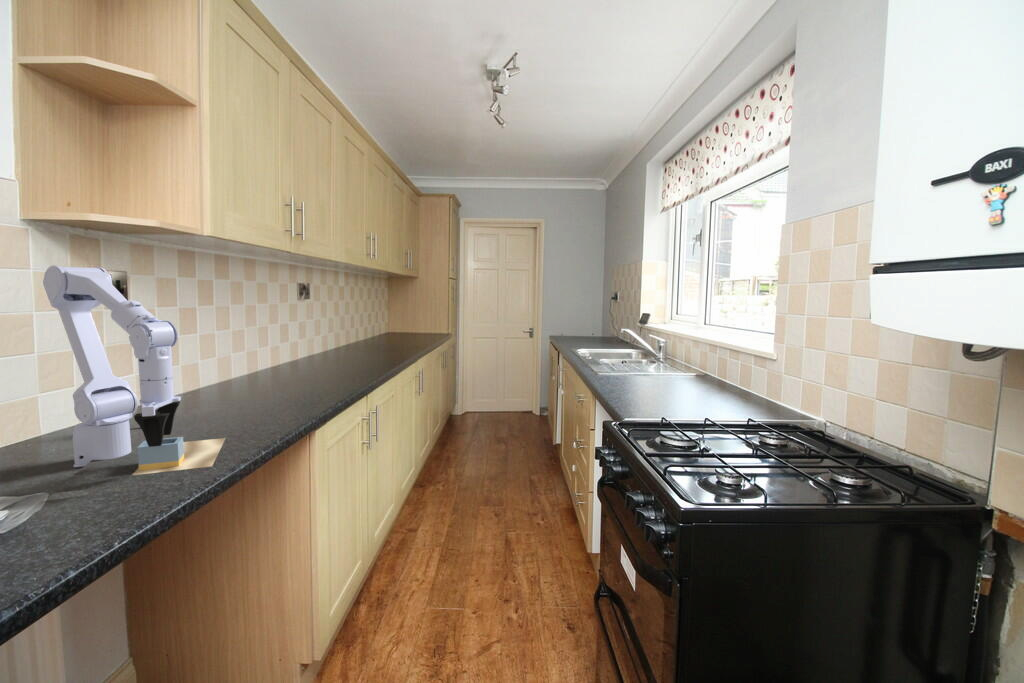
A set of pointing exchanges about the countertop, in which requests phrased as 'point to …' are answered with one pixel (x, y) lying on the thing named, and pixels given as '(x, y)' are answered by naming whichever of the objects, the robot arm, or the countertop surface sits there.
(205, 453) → the board
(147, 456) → the sleeve
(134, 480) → the countertop surface
